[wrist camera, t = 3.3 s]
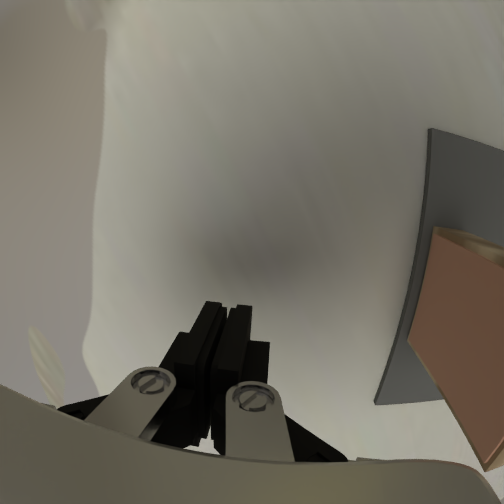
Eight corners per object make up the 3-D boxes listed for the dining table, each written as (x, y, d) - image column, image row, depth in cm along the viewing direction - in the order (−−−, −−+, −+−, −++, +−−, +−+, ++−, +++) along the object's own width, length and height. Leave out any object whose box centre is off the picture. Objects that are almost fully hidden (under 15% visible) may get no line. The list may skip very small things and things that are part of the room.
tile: (463, 230, 16) (602, 297, 5) (435, 340, 18) (519, 458, 7) (430, 225, 17) (576, 298, 5) (404, 340, 19) (481, 473, 7)
